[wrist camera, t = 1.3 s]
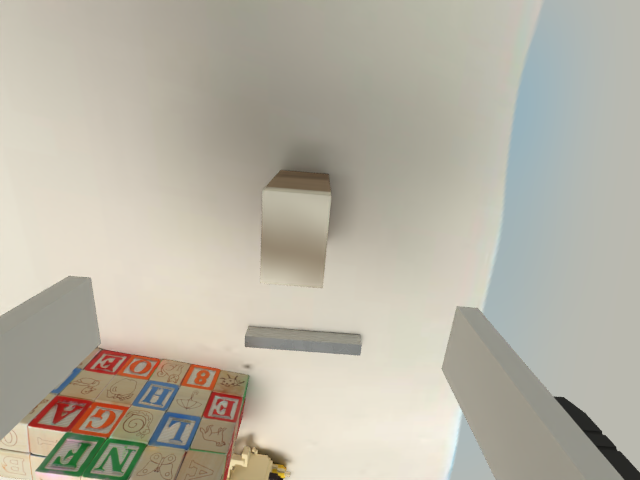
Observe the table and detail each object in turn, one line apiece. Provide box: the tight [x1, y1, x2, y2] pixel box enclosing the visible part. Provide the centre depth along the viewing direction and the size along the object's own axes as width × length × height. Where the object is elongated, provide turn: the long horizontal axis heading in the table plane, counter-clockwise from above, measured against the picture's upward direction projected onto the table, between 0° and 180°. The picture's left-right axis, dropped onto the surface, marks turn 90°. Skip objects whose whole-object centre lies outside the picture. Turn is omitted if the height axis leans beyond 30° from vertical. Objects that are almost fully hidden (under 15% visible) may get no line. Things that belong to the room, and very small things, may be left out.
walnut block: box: [260, 170, 331, 288], centre depth 25 cm, size 6×4×9 cm, turn 175°
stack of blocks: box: [0, 348, 249, 480], centre depth 29 cm, size 21×6×12 cm, turn 78°
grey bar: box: [245, 326, 362, 355], centre depth 32 cm, size 1×11×2 cm, turn 85°
